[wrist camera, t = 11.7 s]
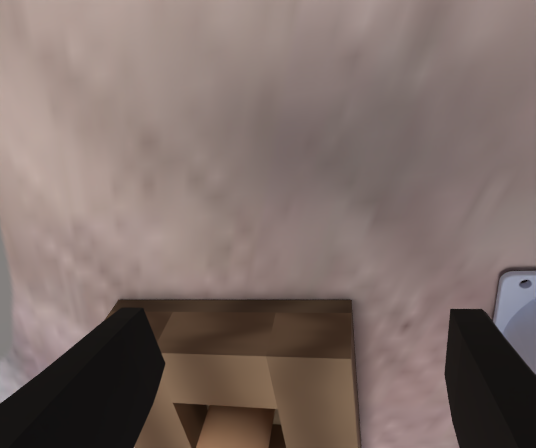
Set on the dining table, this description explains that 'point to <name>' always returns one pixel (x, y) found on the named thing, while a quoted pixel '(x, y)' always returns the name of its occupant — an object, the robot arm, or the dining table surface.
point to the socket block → (254, 369)
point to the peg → (236, 427)
